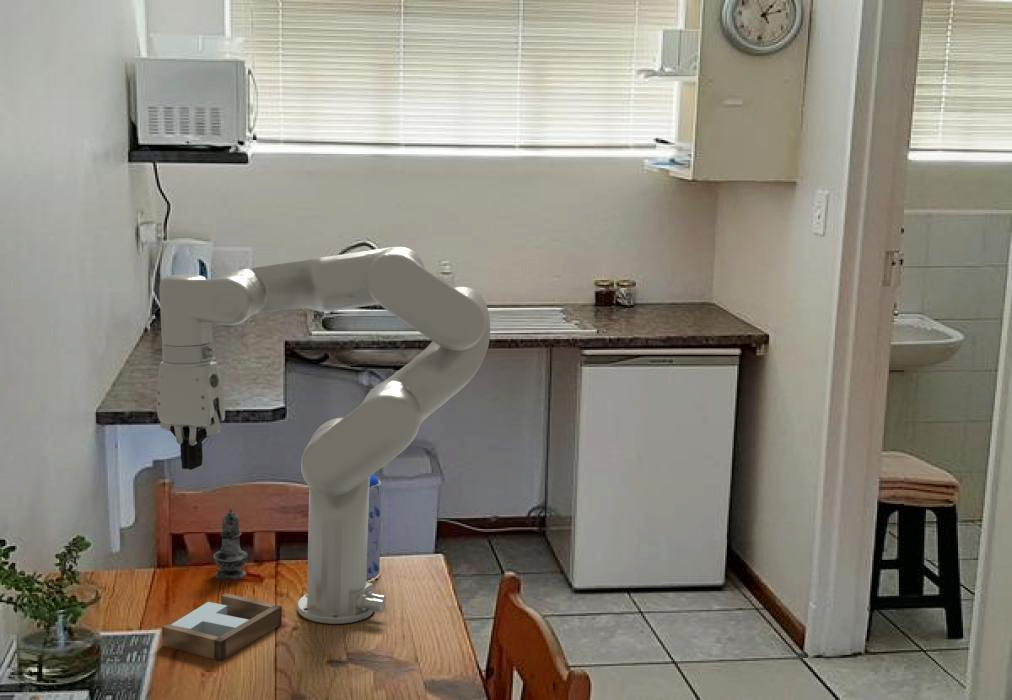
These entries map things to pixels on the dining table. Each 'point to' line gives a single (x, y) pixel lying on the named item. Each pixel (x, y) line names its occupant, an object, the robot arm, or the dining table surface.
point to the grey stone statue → (230, 550)
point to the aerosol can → (374, 528)
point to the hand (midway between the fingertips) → (192, 466)
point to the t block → (210, 620)
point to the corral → (219, 648)
